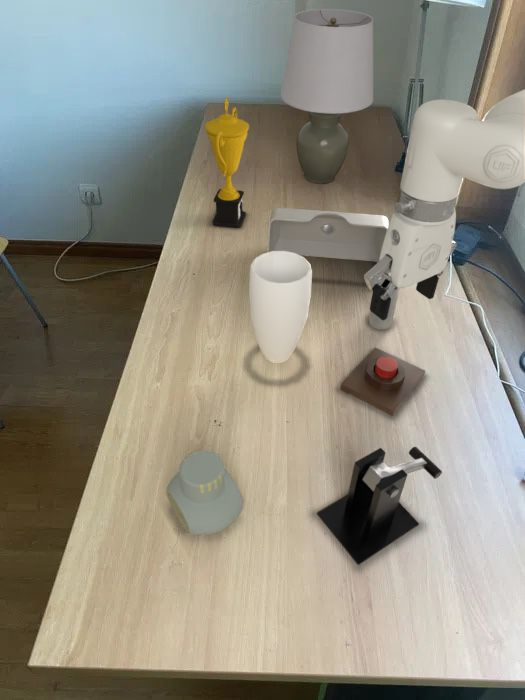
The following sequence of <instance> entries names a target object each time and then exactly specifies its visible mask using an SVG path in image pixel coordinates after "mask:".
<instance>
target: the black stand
mask: <svg viewBox="0 0 525 700" xmlns="http://www.w3.org/2000/svg"><path fill="white" fill-rule="evenodd" d="M385 457H386V451H385V450H384V449H383V448H382V447H379V448H378V449H376V450H374V451H372V452H370V453H369V454H367V455H365V456H363V457H362V458H359V459H358V460H356V461H355V462H354V464H353V469H352V475H351V480H350V483H349V489H348V493H347V494H346V495H345V496H343V497H341V498H339V499H338V500H335V501H334V502H333V503H331V504H330V505H328V506H326V507H324V508H323V509H321V510H319V511H318V512H316V515H317V516H318V517H319V519H320V520H321V521H322V522H323V524H324V525H325V526H326V527H327V529H328V530H329V531H330V533H331V534H332V535H333V536H334V537H335V539H336V540H337V541H338V543H340V545H341V546H342V547H343V549H344V550H345V551H346V552H347V554H348V555H349V556H350V557H351V558H352V560H353V561H354V562H355V563H356V565H357V566H360V565H361V564H362V563H364V562H366V561H367V560H368V559H370V558H372V557H373V556H375V555H376V554H378V553H379V552H381V551H382V550H383V549H385V548H387V547H388V546H389V545H391V544H393V543H394V542H396V541H397V540H399V539H400V538H402V537H404V535H406V534H408V533H409V532H410V531H412V530H413V529H415V528H416V527H418V526H419V525H420V523H419V522H418V521H417V520H416V519H415V518H414V517H413V516H412V515H411V513H410V512H409V511H408V510H407V509H406V508H405V507H404V506H403V505H402V504H401V503H400V499H401V496H402V493H403V491H404V488H405V484H406V481H407V478H408V474H407V473H406V472H405V471H404V470H403V469H402V470H400V471H398V472H397V473H395V474H393V475H392V476H390V477H388V478H387V479H385V480H383V481H382V482H380V483H378V484H377V485H376V487H375V490H374V491H372V489H371V488H370V487H369V486H368V485H367V484H366V483H365V482H364V481H363V478H364V476H365V474H366V472H367V471H368V469H369V467H370V466H373V465H376V464H380V463H383V462H384V461H385Z"/></svg>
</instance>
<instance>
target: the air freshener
mask: <svg viewBox="0 0 525 700" xmlns="http://www.w3.org/2000/svg"><path fill="white" fill-rule="evenodd" d="M165 491H166V496H167V498H168V501H169V504H170V506H171V508H172V509H173V512H174V513H175V515H176V517H177V518H178V520H179V522H180V524H181V525H182V527H183V528H184V530H185V531H186V532H187V533H188V534H191V535H194V536H210V535H215V534H218V533H221V532H222V531H224V530H226V529H228V528H229V527H230V526H231V525H232V524H233V523H234V522H236V520H237V519H238V518H239V516H240V514H241V512H242V509H243V507H244V498H243V495H242V492H241V491H240V488H239V487H238V485H237V483H236V481H235V480H234V478H233V477H232V475H231V474H230V472H229V471H228V470H227V469H226V468H225V463H224V460H223V458H221V457H220V455H218V454H217V453H215V452H213V451H210V450H206V449H205V450H197V451H194V452H191V453H189V454H188V455H187V456H185V457H184V459H183V460H182V461H181V463H180V465H179V471H178V472H177V473H176V474H174V476H173V477H171V479H170V481H169V483H168V485H167V487H166V489H165Z"/></svg>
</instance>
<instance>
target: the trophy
mask: <svg viewBox="0 0 525 700" xmlns="http://www.w3.org/2000/svg"><path fill="white" fill-rule="evenodd" d="M228 110H229V97H228V96H226V97H225V99H224V111H225V113H223V114H220V115H219V116H218V117H217V118H214V119H213V118H212V119H211V120H209V121H207V122H206V123H205V124H204V129H205V131H206V136H207V138H208V140H209V141H210V146H211V150H212V153H213V155H214V156H213V157H214V160H215V163H216V165H217V169H218V170H219V171H220V173H222V176H223V177H225V178H224V179H225V185H224V186H222V187H221V188H219V189H218V190H217V192H216V194H215V195H214V198H213V202H214V203H215V212H216V213H215V215H214V218H213V220H212V226H214V227H220V228H231V229H240V228H241V227H243V224H244V221H245V219H246V216H247V212H246V211H244V210H243V197H244V194H245V192H244V190H238V189H236V187H235V186H233V184H232V183H233V182H232V176H233V175H234V173H236V172H237V170H238V169H239V165H240V162H241V157H242V154H243V150H244V147H245V142H246V140H247V137H248V131H249V129H250V124H249V123H248V122H246V121H245V120H243V119H240V118H238V109H237V107H235V106H233V107H232V109H231V113H228Z"/></svg>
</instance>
